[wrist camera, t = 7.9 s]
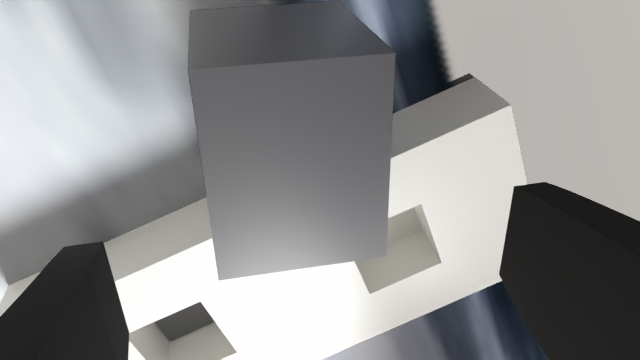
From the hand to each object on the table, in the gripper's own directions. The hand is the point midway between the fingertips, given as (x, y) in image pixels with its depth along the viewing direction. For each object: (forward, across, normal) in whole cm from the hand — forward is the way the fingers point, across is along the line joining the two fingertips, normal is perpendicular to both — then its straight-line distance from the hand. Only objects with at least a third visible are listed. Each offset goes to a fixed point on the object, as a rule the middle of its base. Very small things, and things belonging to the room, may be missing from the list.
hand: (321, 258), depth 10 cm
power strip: (+10, 0, +7) cm, 12 cm away
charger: (+9, 0, 0) cm, 9 cm away
